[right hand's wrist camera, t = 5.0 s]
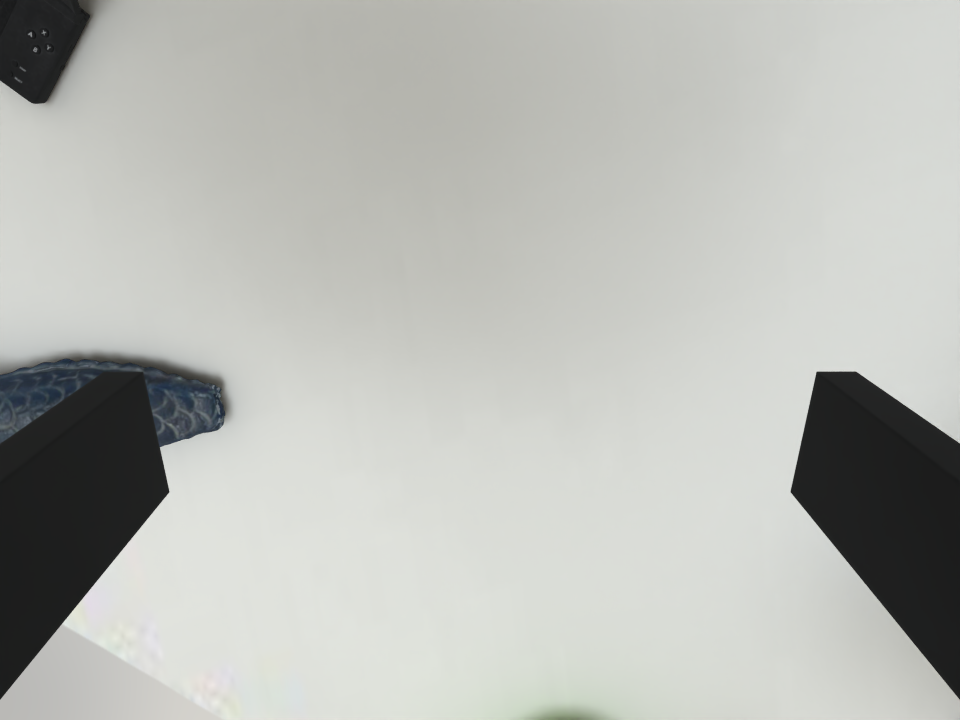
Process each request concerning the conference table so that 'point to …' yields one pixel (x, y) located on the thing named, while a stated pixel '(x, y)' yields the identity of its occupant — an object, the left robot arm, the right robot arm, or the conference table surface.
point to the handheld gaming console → (37, 43)
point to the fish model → (34, 391)
